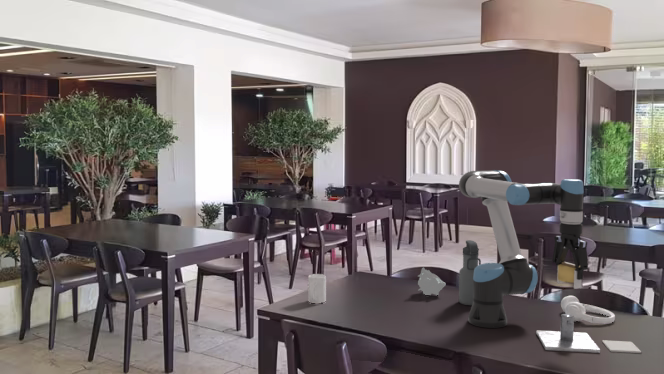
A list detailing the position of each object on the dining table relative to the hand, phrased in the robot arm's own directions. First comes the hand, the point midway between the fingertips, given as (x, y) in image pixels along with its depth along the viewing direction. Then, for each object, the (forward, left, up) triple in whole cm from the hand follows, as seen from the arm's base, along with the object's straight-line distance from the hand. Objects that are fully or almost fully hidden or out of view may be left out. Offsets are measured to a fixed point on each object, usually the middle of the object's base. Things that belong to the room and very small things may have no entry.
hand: (568, 285), depth 213 cm
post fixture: (0, 0, -21) cm, 21 cm away
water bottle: (-31, +48, -21) cm, 61 cm away
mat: (+18, -2, -21) cm, 28 cm away
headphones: (+16, +33, -22) cm, 42 cm away
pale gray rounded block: (-100, +37, -21) cm, 109 cm away
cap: (0, 0, +2) cm, 2 cm away
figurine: (-48, +60, -21) cm, 80 cm away
